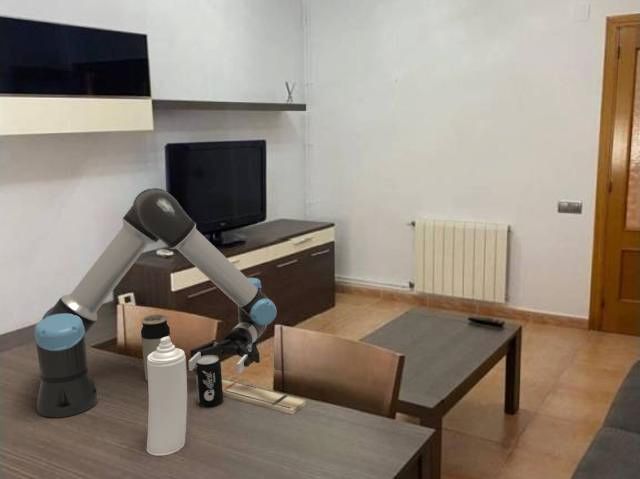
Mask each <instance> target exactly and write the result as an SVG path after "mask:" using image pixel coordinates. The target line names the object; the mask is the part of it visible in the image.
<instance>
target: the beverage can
mask: <svg viewBox="0 0 640 479" xmlns="http://www.w3.org/2000/svg"><path fill="white" fill-rule="evenodd" d="M196 362H197V363H196V365H195V368H194V369H195V379H196V380H195V383H196V393H197V394H196V396H197V403H199V405H200V406H202V407H205V408H208V407H209V408H211V407H215V406H218V405H220V404H221V402H222V401H224V396H223V390H222V379H223V378H222V364H221V362H220V359H219V357H218V355H216V356H214V355H206V356H202V357H199V358H198V359H197V360H196Z"/></svg>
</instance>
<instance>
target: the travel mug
mask: <svg viewBox="0 0 640 479" xmlns="http://www.w3.org/2000/svg"><path fill="white" fill-rule="evenodd" d="M168 319H169V317H168V316H167V315H166V314H152V315H147V316H143V317H142V318H141V319H140V323H141V324H142V328H141V330H140V335H141V336H140V337H141V346H142V357H143V358H142V359H143V368H144V380H145V381H147V382H148V369H147V360H148V359H147V357H148V355H149V354H151V353H152V352H154V351H156V350H157V347H158V346H159V344H160V340H161V339H162V338H163V337H167V336H169V337H170V342H172V341H171V329H170V326H169V324H168Z"/></svg>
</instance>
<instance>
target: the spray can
mask: <svg viewBox="0 0 640 479" xmlns="http://www.w3.org/2000/svg"><path fill="white" fill-rule="evenodd" d="M170 339H171V336H170V337H169V336H167V337H163V338H162V339H161V340H160V344H159V346H158V347H157V350H156V351H154V352H152V353H151V354H149V355H148V357H147V359H148V360H147V369H148V381H147V382H148V384H147V385H148V387H147V388H148V418H147V419H148V420H147V421H148V422H147V441H146V442H147V443H146V451H147V453H148V454H149V455H151V456H157V457H160V456H161V457H162V456H163V457H164V456H168V455H172V454H174V453H177V452H178V451H180V450H181V449H182V448H184V446H185V444H186V432H187V412H188V410H187V408H188V382H187V379H188V378H187V359H186V358H187V357H186V354H185V351H184V350H183V349H181V348H178V347H176V345H175V344H173V342H172V341H171V342H170Z"/></svg>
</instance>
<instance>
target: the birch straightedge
mask: <svg viewBox="0 0 640 479" xmlns="http://www.w3.org/2000/svg"><path fill="white" fill-rule="evenodd" d="M222 390H223V397H227V398H231V399H233V400H238V401H242V402H245V403H249V404H253V405H256V406H259V407H264V408H266V409H270V410H271V409H272V410H275V411H278V412H282V413H286V414H290V415H294V414H295V413H297V412H299V410H301V409H302V408H304V407H306V404H307V403H306V399H301V398H296V397H292V396H289V395H286V394H282V393H277V392H275V391H274V392H273V391H269V390H265V389H262V388H257V387H254V386H250V385H246V384H241V383H238V382H236V381H230V380H227V379H223V378H222Z"/></svg>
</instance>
